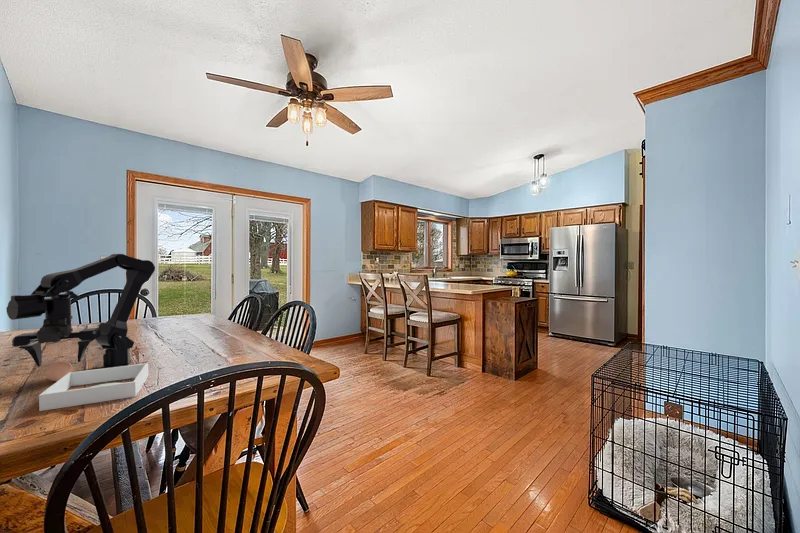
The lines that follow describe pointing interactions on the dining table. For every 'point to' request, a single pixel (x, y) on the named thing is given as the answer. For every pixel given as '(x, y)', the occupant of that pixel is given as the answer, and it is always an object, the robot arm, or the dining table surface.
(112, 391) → the walled pen
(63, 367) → the ball
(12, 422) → the dining table surface
